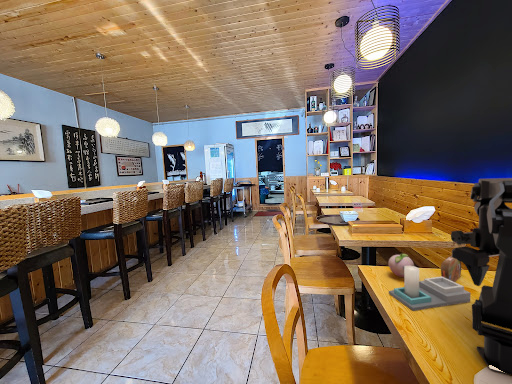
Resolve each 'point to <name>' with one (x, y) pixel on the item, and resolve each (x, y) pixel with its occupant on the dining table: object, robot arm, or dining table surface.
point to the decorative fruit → (399, 264)
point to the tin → (451, 269)
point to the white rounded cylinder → (411, 281)
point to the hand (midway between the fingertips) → (491, 282)
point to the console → (433, 294)
